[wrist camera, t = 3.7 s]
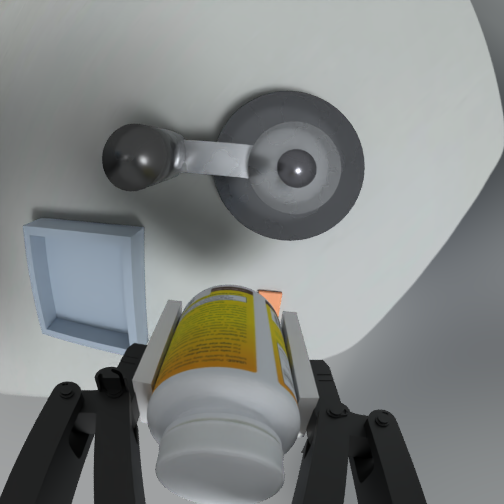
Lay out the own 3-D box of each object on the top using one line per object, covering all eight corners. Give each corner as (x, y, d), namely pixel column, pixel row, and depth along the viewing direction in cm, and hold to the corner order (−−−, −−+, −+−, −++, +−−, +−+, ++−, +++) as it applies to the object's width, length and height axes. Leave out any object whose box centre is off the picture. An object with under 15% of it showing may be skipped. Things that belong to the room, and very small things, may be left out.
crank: (338, 131, 19) (370, 126, 14) (326, 213, 21) (352, 237, 16) (145, 113, 19) (107, 103, 13) (139, 193, 21) (101, 210, 15)
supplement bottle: (163, 329, 17) (102, 471, 7) (222, 260, 16) (191, 398, 6) (237, 378, 18) (234, 524, 8) (299, 320, 17) (349, 471, 7)
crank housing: (210, 225, 24) (207, 231, 22) (224, 88, 21) (222, 83, 19) (343, 240, 24) (350, 248, 23) (363, 110, 21) (372, 107, 19)
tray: (56, 319, 28) (42, 333, 25) (41, 217, 24) (23, 225, 21) (148, 340, 28) (139, 358, 25) (144, 227, 24) (130, 237, 21)
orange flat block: (254, 324, 27) (254, 325, 27) (258, 290, 26) (258, 291, 26) (275, 326, 27) (276, 327, 27) (281, 292, 26) (282, 294, 26)
